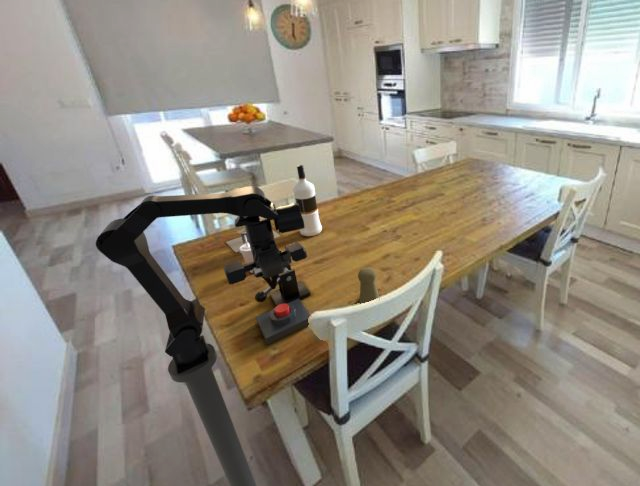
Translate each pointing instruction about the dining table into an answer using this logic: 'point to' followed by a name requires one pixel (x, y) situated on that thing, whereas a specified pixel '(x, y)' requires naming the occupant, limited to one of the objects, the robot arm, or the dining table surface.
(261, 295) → the switch lever
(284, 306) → the switch button
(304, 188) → the vodka
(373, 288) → the grey brown pawn
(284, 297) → the switch bracket
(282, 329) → the switch block
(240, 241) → the platform
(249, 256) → the smoothie
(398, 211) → the dining table surface
